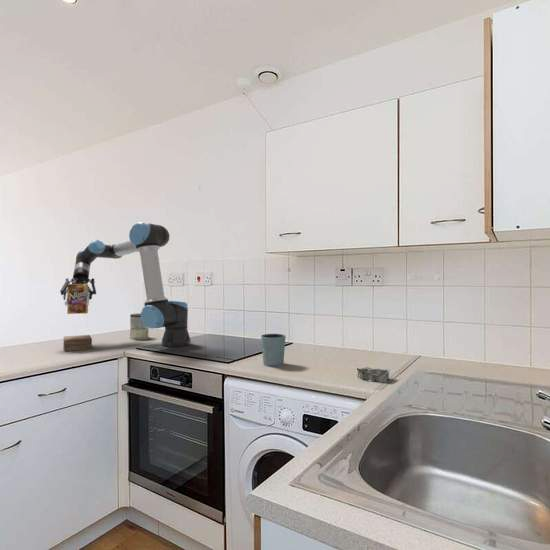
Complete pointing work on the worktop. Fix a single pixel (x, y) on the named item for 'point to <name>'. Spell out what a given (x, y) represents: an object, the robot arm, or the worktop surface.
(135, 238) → the robot arm
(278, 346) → the teal cup
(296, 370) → the worktop surface
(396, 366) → the worktop surface
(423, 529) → the worktop surface
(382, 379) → the mottled grey-green oblong lump
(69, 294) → the candy box
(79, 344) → the walnut stand
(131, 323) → the coffee can
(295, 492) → the worktop surface
